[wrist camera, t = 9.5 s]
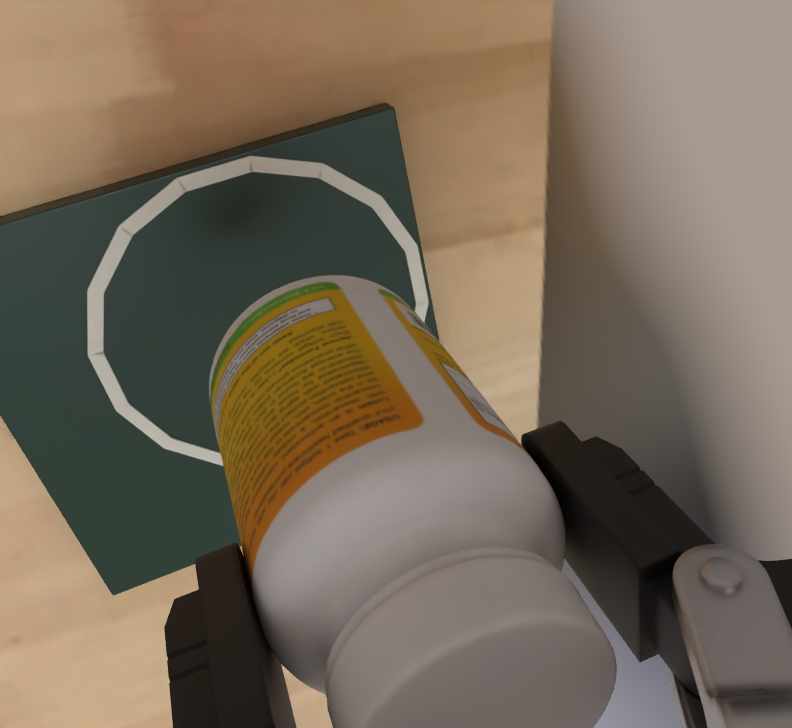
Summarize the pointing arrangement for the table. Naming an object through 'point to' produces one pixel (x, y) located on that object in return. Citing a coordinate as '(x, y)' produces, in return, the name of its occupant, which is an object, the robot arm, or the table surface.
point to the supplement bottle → (396, 522)
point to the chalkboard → (179, 321)
